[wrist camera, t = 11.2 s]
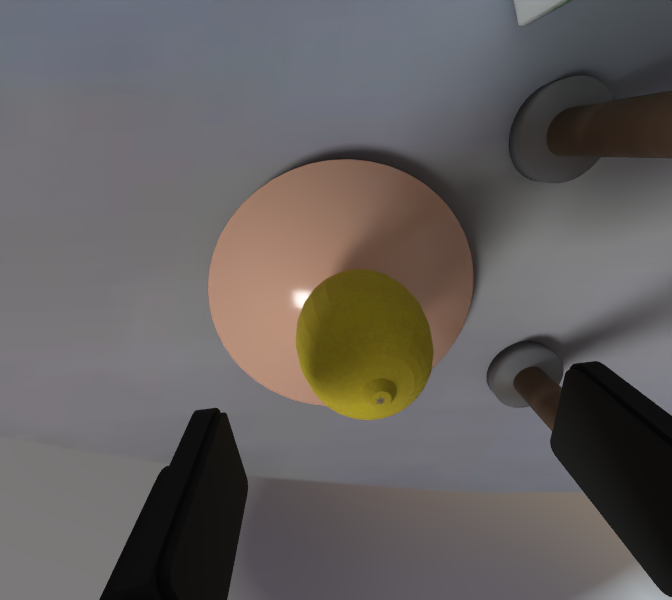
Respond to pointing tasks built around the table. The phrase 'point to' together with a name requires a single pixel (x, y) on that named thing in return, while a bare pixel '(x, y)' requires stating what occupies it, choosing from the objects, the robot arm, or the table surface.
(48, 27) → the table surface
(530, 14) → the skincare box
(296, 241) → the plate
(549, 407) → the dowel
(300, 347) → the lemon
